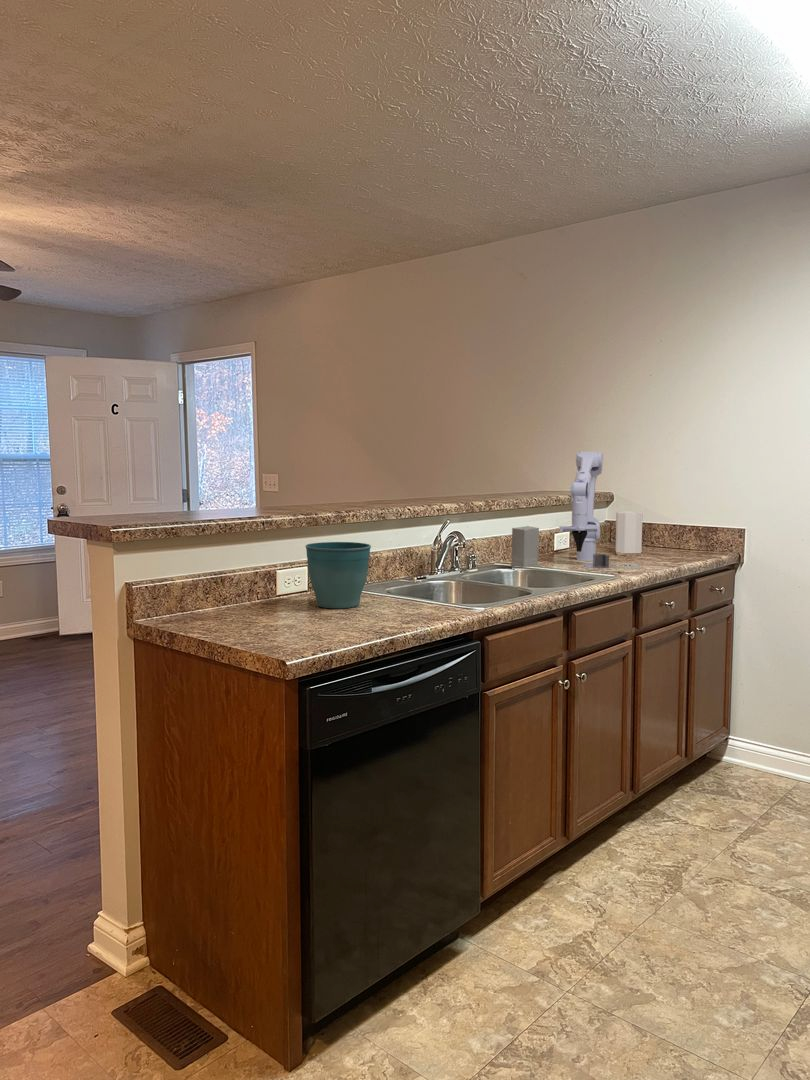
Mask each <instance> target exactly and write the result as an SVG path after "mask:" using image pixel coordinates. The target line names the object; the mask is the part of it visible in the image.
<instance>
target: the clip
mask: <svg viewBox="0 0 810 1080" xmlns="http://www.w3.org/2000/svg"><path fill="white" fill-rule="evenodd" d="M592 563H593V565H594V566H597V567H598V565H604V566H605V567H609V563H610V555H609V554H607V553H596V554H593V561H592Z"/></svg>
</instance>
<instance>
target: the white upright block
mask: <svg viewBox="0 0 810 1080" xmlns="http://www.w3.org/2000/svg"><path fill="white" fill-rule="evenodd" d="M615 513H616V514H615V516H616V518H615V548H614V549H615V550H614V551H616V552H621V553H641V552H642V548H643V547H642V544H643V517H644V515H643V512H642V511H635V510H631V511H628V510H627V511H625V510H623V511H622V510H621V511H616V512H615ZM642 553H643V552H642Z"/></svg>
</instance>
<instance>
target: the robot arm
mask: <svg viewBox="0 0 810 1080" xmlns="http://www.w3.org/2000/svg"><path fill="white" fill-rule="evenodd" d="M603 461H604V454H603V452H602V451H601V450H599V451H580V450H579V451H577V452H576V455H575V463H576V469H577V472H576V474H575V477H574V478H575V479H574V482H573V483H571V485H570V496H571V497H570V498H571V503H572V504H571V525H564V526H563V525H562V526H561V525H559V530H558V531H559V533H560V532H561V533H566V532H569V533H571V534H572V536H573V540H574V543H575V546H576V560H577V561H582V562H593V554H597V553H596V551H597V549H596V548H597V547H596V546H597V541H598V540H600V538H601V537H600V536H601V526H600V525H601V522H600V520H599V519H598V518H596V517H595V516H594V508H595V494H596V493H595V492H596V482H597V478H598V476H599V475H601V474H602V472H603V463H604V462H603Z"/></svg>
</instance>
